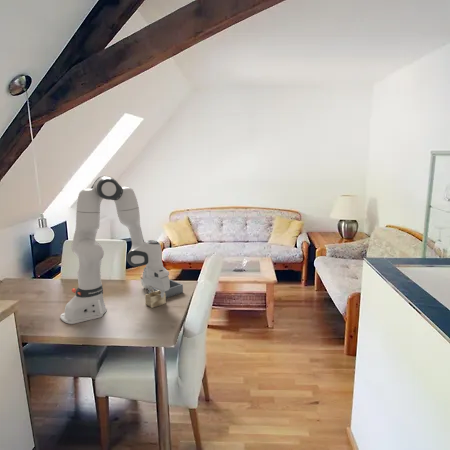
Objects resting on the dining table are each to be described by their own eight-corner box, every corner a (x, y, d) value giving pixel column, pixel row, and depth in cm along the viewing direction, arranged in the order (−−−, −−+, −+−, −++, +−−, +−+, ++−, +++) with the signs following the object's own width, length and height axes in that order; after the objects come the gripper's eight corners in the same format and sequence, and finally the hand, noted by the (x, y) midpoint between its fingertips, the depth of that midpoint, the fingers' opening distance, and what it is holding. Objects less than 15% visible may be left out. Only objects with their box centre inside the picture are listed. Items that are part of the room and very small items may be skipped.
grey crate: (160, 300, 221) (160, 291, 220) (148, 294, 230) (148, 286, 229) (183, 292, 231) (182, 284, 230) (170, 287, 240) (170, 279, 239)
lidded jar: (157, 290, 235) (156, 275, 233) (139, 290, 236) (138, 275, 234) (160, 284, 246) (159, 269, 244) (143, 284, 246) (142, 269, 244)
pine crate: (151, 308, 210) (151, 297, 209) (145, 305, 215) (145, 294, 213) (165, 303, 216) (165, 293, 215) (159, 300, 221) (159, 290, 219)
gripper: (138, 267, 217) (140, 291, 220) (161, 276, 203) (163, 301, 206) (148, 264, 222) (150, 288, 225) (171, 272, 207) (172, 297, 210)
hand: (156, 294), depth 215 cm, fingers open, 8 cm apart
